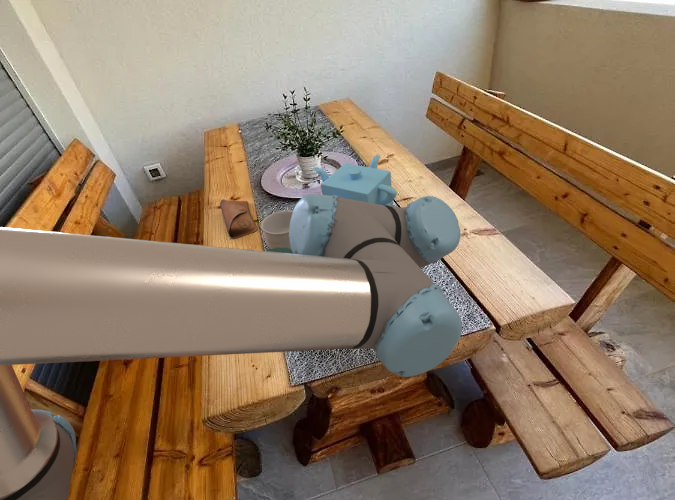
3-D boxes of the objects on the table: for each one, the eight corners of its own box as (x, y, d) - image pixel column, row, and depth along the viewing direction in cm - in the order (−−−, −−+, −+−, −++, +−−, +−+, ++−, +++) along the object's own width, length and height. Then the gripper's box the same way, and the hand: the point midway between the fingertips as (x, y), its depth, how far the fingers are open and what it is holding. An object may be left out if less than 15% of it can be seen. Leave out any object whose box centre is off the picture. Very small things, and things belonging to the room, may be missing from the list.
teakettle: (403, 228, 101) (401, 178, 92) (333, 245, 99) (324, 196, 90) (381, 193, 115) (378, 147, 106) (320, 207, 114) (311, 162, 105)
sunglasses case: (259, 228, 109) (242, 215, 104) (242, 245, 110) (224, 233, 105) (247, 199, 122) (231, 187, 118) (232, 215, 123) (215, 203, 119)
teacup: (265, 239, 105) (257, 215, 100) (303, 228, 107) (298, 204, 102) (274, 271, 95) (266, 246, 90) (316, 258, 96) (311, 232, 91)
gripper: (339, 344, 50) (280, 363, 67) (422, 235, 65) (356, 273, 82) (300, 302, 49) (250, 332, 66) (392, 201, 64) (332, 247, 81)
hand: (308, 299), depth 74 cm, fingers open, 13 cm apart
